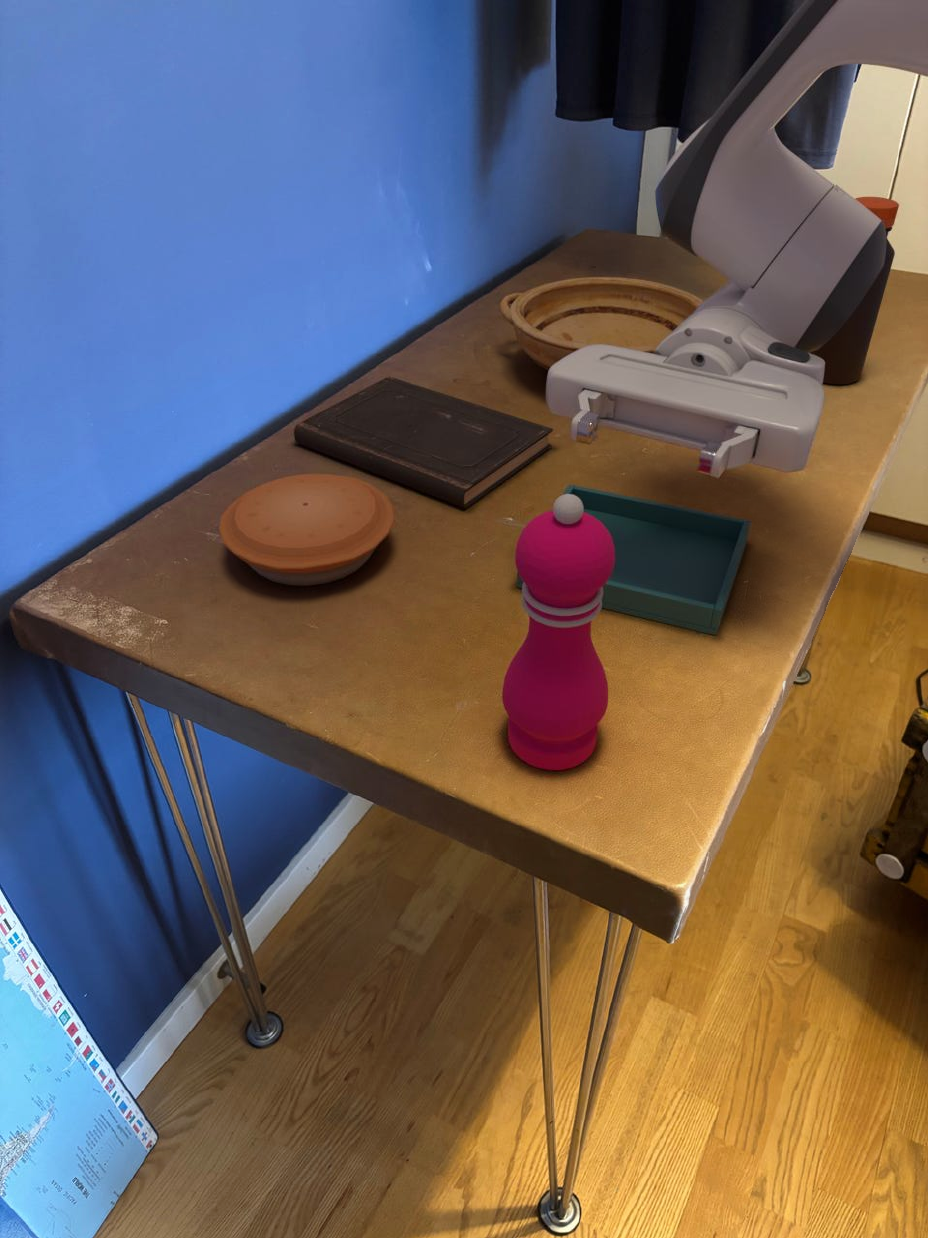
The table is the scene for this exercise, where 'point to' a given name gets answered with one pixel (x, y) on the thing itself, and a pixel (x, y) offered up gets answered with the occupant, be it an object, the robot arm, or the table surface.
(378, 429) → the hardcover book
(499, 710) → the table surface
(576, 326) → the ceramic bowl
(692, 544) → the tray
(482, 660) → the table surface
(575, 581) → the pepper mill
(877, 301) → the bottle
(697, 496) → the table surface
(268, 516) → the pie
